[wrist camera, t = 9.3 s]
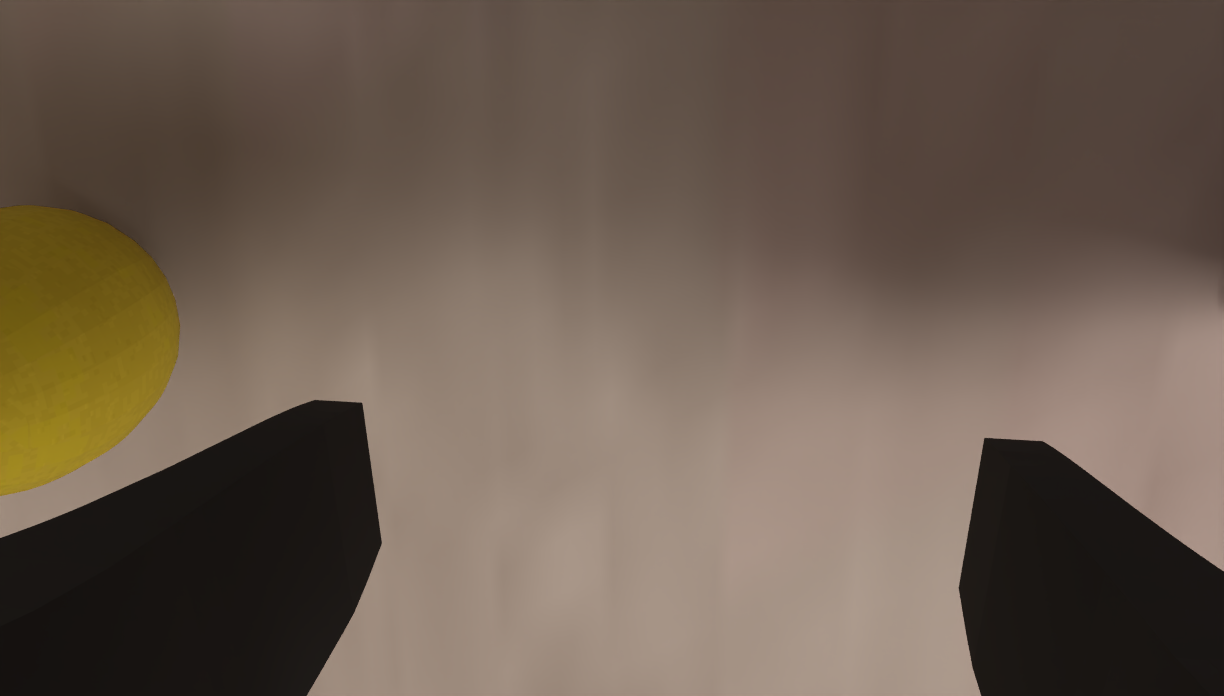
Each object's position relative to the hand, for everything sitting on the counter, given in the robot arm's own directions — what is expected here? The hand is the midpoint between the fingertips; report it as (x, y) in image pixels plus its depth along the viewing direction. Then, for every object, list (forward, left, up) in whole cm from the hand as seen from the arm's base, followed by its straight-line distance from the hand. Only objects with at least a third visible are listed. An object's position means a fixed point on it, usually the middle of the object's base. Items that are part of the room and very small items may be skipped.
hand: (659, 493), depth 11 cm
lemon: (+14, +2, -11) cm, 18 cm away
